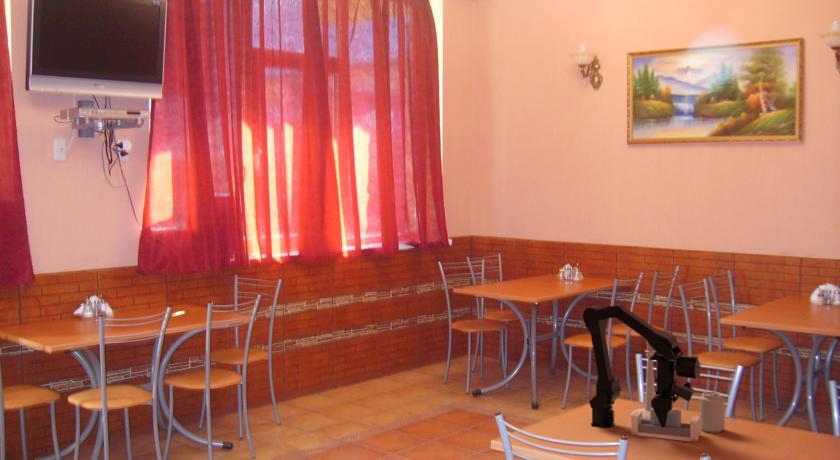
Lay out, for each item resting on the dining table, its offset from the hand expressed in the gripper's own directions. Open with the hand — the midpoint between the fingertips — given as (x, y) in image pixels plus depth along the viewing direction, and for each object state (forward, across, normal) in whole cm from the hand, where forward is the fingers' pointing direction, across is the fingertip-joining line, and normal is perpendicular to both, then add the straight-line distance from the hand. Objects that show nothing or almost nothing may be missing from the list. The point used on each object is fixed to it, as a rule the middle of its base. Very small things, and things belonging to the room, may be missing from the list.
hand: (665, 423), depth 264 cm
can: (+4, +11, -13) cm, 17 cm away
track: (+4, 0, 0) cm, 4 cm away
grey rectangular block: (+3, 0, 0) cm, 3 cm away
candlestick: (+4, +19, +8) cm, 21 cm away
